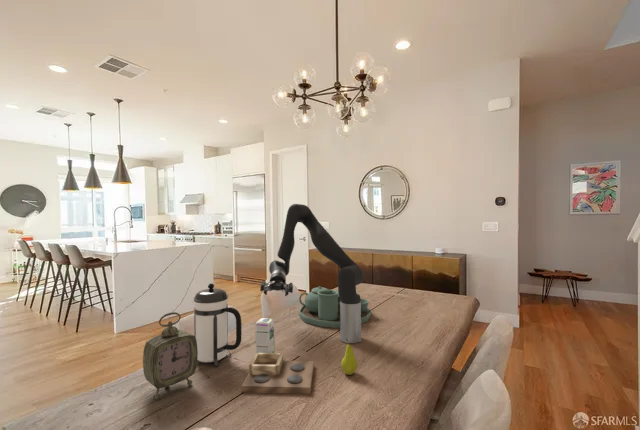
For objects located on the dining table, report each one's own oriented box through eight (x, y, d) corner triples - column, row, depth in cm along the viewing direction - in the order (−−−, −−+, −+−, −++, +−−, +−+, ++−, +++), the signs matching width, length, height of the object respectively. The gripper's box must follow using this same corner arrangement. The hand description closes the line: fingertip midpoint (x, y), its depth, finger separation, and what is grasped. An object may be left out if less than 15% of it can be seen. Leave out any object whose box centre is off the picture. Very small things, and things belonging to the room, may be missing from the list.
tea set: (383, 324, 165) (383, 292, 165) (307, 332, 155) (306, 298, 155) (355, 303, 203) (355, 277, 203) (293, 308, 193) (293, 281, 193)
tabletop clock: (152, 404, 96) (152, 321, 96) (140, 393, 102) (140, 315, 102) (197, 384, 107) (197, 310, 107) (184, 375, 113) (184, 305, 113)
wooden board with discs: (313, 366, 119) (313, 353, 119) (310, 393, 101) (310, 378, 101) (255, 365, 120) (255, 352, 120) (241, 392, 102) (241, 376, 102)
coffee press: (193, 374, 114) (193, 290, 114) (189, 356, 128) (188, 281, 128) (242, 363, 122) (241, 285, 122) (232, 347, 136) (232, 277, 136)
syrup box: (269, 360, 125) (269, 323, 125) (255, 358, 126) (255, 322, 126) (274, 353, 130) (274, 318, 130) (261, 352, 132) (260, 317, 132)
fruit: (353, 379, 110) (353, 345, 110) (338, 375, 113) (338, 341, 113) (360, 372, 115) (360, 339, 115) (345, 368, 118) (345, 336, 118)
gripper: (263, 271, 151) (259, 284, 135) (293, 273, 153) (293, 286, 137) (262, 286, 152) (258, 300, 136) (292, 288, 154) (292, 302, 138)
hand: (276, 293), depth 136 cm, fingers open, 8 cm apart
